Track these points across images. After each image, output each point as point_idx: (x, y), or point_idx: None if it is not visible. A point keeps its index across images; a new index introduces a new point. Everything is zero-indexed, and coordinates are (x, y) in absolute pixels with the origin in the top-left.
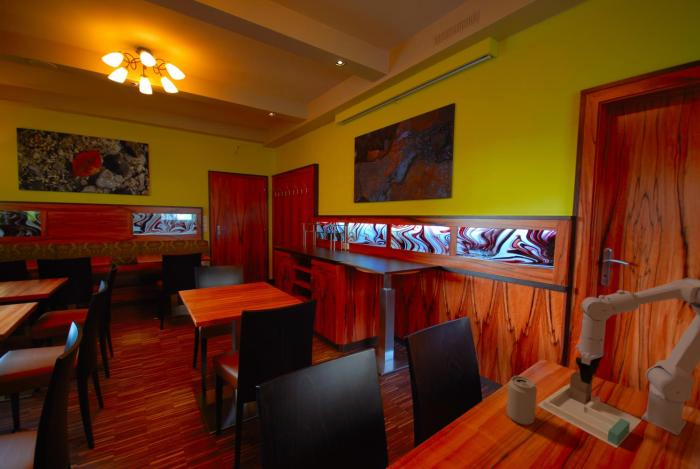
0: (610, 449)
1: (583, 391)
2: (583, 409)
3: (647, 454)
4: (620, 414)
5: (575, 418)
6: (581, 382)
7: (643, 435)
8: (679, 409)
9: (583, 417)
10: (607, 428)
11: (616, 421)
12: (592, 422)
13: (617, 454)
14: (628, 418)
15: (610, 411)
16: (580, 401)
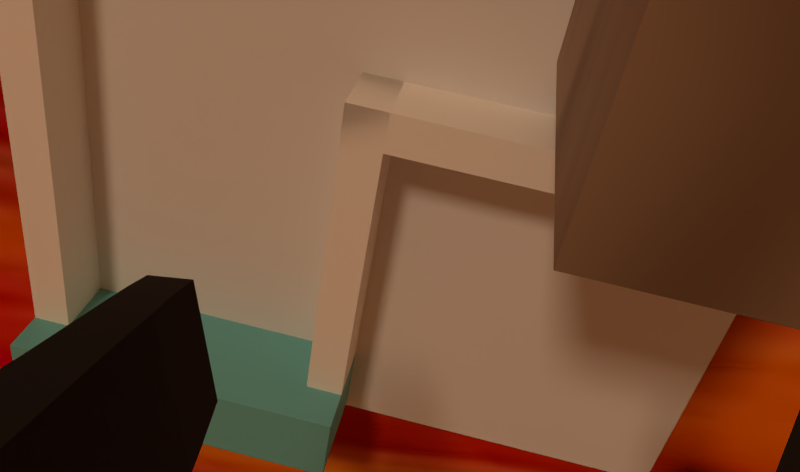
0: (23, 286)
1: (566, 111)
2: (420, 65)
3: (203, 452)
4: (620, 362)
5: (5, 56)
6: (581, 141)
7: (429, 456)
8: None
9: (240, 88)
10: (250, 277)
11: (319, 370)
12: (228, 170)
13: (15, 320)
14: (589, 409)
15: (611, 294)
16: (573, 14)
